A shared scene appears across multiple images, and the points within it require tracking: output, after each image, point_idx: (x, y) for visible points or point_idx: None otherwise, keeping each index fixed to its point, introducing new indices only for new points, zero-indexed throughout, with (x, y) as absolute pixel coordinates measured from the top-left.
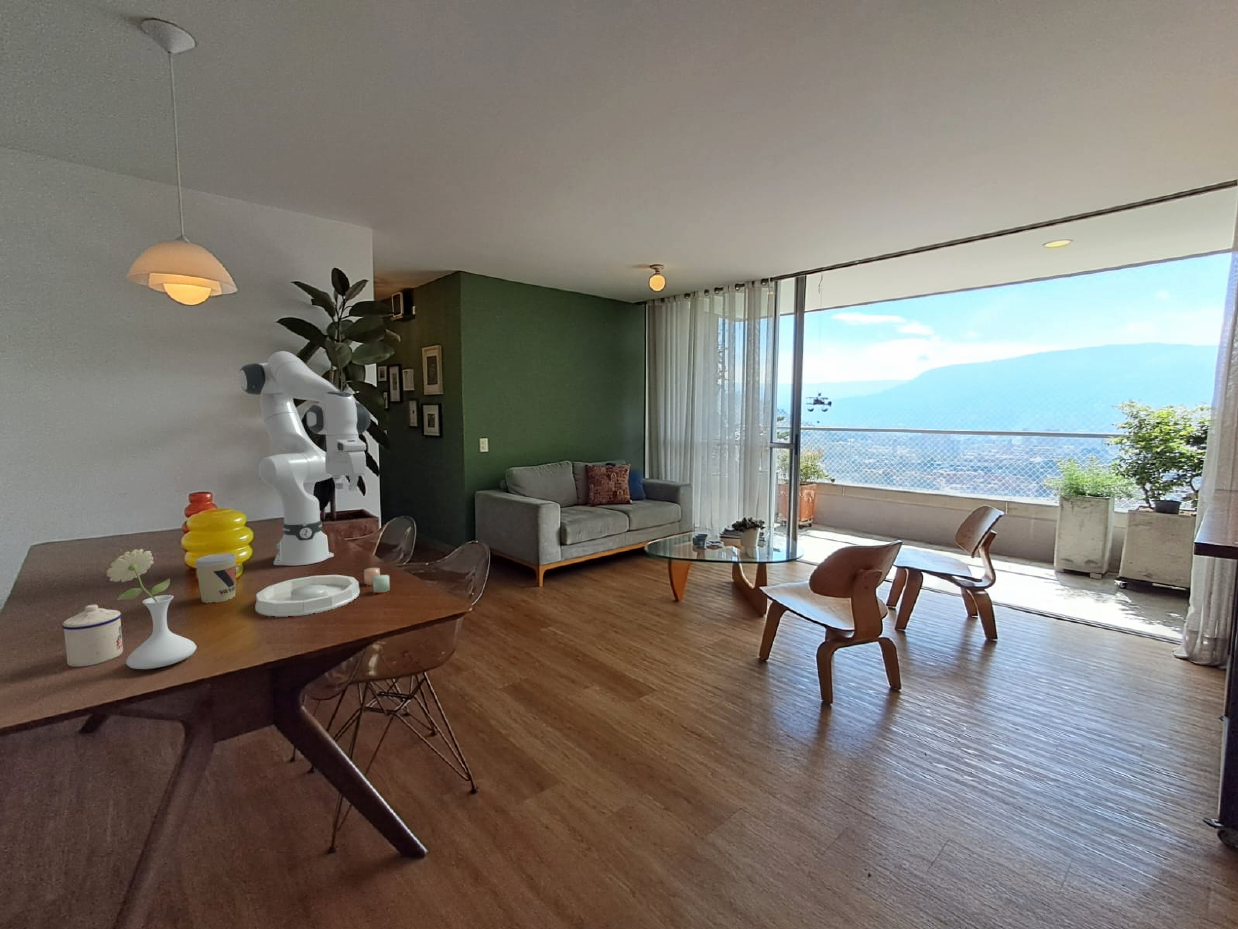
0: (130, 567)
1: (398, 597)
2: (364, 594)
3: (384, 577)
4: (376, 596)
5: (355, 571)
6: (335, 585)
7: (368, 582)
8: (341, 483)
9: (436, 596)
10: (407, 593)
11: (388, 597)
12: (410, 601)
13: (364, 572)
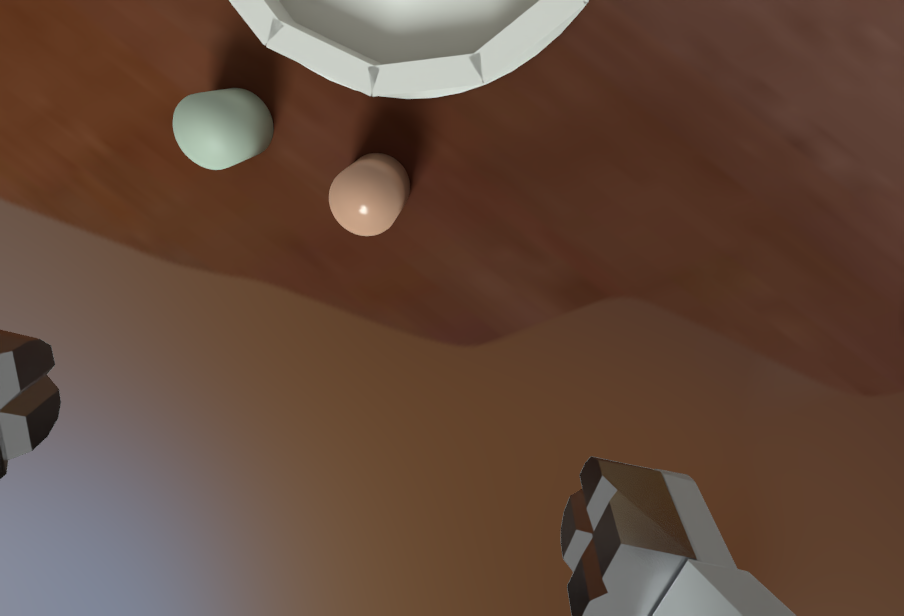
0: None
1: (114, 100)
2: (264, 55)
3: (190, 136)
4: (196, 63)
5: (605, 273)
6: (454, 44)
7: (361, 157)
8: (584, 606)
9: (20, 181)
10: (135, 156)
11: (145, 79)
12: (31, 88)
13: (376, 167)
